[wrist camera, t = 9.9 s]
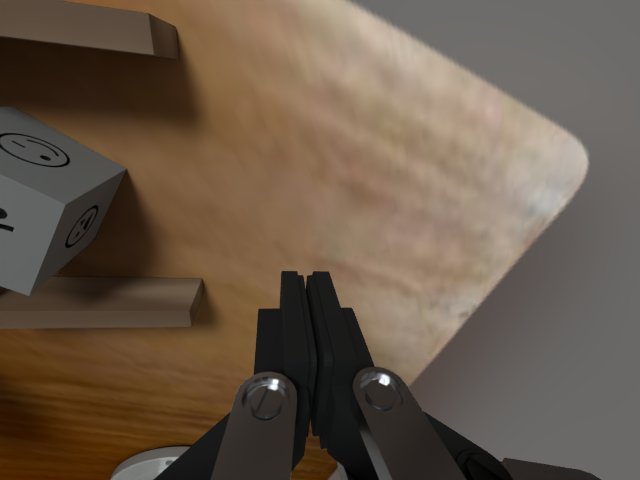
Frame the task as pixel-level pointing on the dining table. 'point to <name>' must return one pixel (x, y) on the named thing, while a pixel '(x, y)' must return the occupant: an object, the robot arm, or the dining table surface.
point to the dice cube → (47, 199)
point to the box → (96, 292)
